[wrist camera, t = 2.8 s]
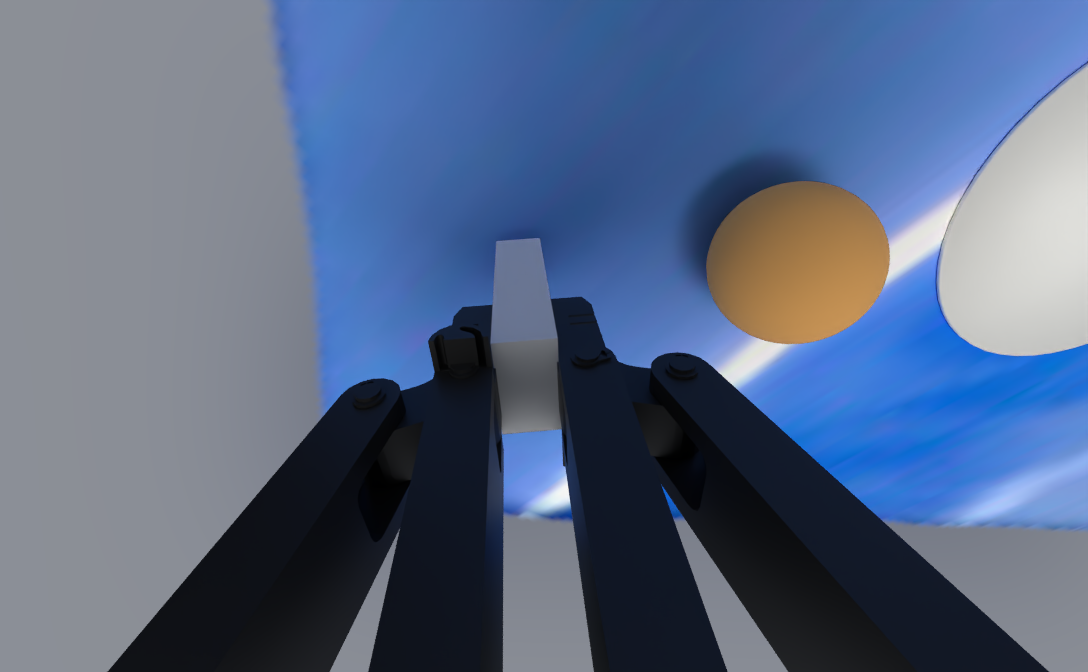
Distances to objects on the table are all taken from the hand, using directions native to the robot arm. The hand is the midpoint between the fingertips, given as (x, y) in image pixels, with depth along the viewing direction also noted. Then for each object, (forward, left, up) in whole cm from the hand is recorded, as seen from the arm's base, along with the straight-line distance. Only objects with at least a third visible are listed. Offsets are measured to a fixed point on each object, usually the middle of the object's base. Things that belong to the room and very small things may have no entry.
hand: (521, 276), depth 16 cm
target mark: (-21, +12, -2) cm, 24 cm away
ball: (-8, +5, +1) cm, 9 cm away
